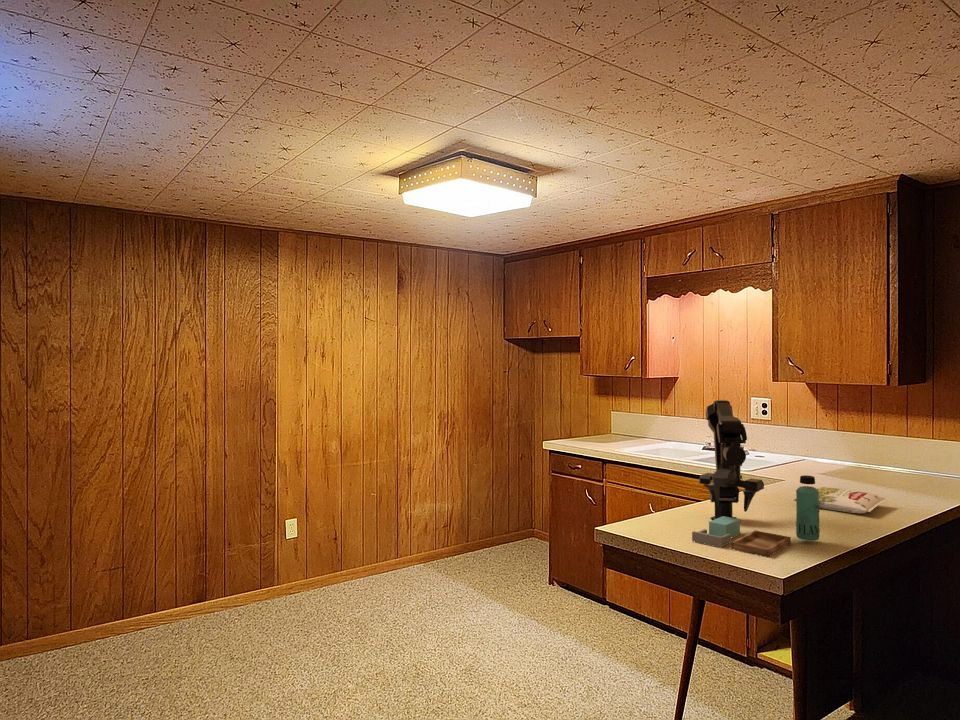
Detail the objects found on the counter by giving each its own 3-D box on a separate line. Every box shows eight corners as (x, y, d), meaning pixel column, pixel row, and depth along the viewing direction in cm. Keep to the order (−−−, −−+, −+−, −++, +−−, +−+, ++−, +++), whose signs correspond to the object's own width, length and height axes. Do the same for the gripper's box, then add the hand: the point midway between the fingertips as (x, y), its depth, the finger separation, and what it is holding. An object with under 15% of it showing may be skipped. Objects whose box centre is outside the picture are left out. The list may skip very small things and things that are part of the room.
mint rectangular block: (725, 530, 210) (725, 515, 209) (742, 534, 205) (741, 518, 205) (709, 537, 203) (708, 521, 203) (725, 541, 199) (725, 525, 198)
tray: (755, 536, 202) (755, 530, 202) (790, 543, 194) (790, 537, 194) (730, 549, 190) (730, 542, 190) (767, 557, 183) (767, 550, 183)
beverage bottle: (794, 543, 194) (794, 477, 194) (797, 538, 200) (796, 473, 199) (819, 547, 191) (818, 479, 190) (821, 541, 196) (820, 474, 196)
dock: (703, 536, 203) (703, 527, 203) (732, 542, 196) (731, 532, 196) (692, 541, 198) (692, 531, 198) (721, 547, 192) (721, 537, 192)
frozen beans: (813, 481, 252) (887, 490, 234) (813, 496, 252) (887, 506, 234) (792, 492, 237) (869, 503, 219) (792, 508, 237) (870, 520, 219)
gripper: (690, 459, 207) (691, 508, 207) (748, 466, 194) (749, 519, 194) (707, 455, 215) (707, 502, 215) (764, 461, 201) (765, 512, 202)
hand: (731, 509), depth 206 cm, fingers open, 9 cm apart
